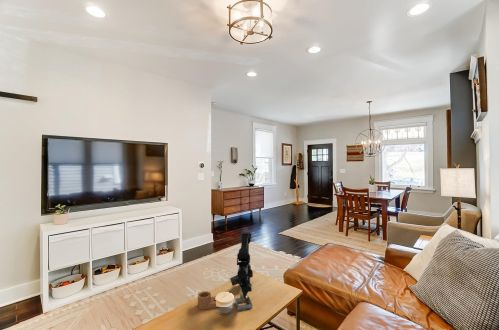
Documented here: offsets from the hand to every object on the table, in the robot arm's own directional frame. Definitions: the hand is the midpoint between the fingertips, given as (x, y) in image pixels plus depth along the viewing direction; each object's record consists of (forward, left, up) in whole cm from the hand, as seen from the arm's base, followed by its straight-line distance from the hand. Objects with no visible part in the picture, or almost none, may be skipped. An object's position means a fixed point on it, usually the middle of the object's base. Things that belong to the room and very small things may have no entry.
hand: (243, 295), depth 148 cm
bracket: (-6, -20, -6) cm, 22 cm away
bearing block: (0, 0, -6) cm, 6 cm away
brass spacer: (0, 0, -1) cm, 1 cm away
